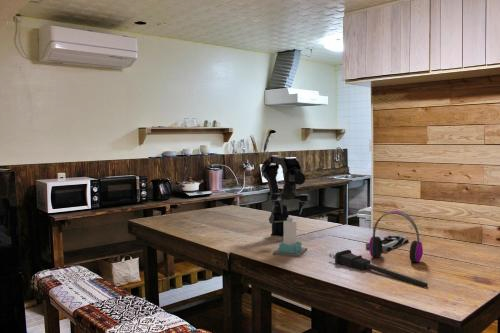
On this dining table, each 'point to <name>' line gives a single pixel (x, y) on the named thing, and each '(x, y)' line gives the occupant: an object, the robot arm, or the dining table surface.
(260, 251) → the dining table surface
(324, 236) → the dining table surface
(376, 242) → the headphones
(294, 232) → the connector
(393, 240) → the graphics card
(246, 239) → the dining table surface
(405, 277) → the electrical plug
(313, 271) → the dining table surface
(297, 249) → the holder board
